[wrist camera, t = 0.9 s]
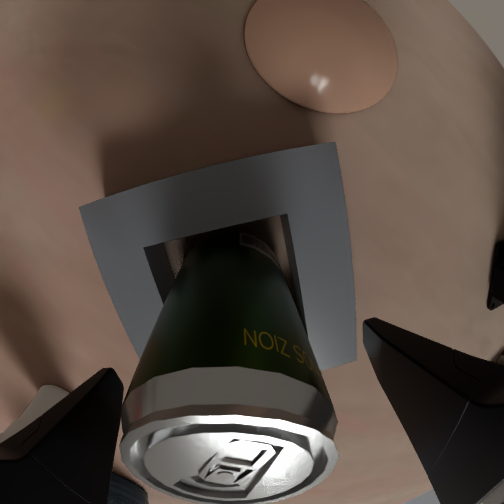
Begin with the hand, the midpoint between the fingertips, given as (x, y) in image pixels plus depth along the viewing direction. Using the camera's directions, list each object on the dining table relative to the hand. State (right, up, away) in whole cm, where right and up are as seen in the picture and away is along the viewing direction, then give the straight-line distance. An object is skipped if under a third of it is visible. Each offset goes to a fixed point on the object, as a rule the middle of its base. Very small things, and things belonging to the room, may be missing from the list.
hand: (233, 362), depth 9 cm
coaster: (+5, +15, +3) cm, 16 cm away
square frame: (0, +2, +7) cm, 8 cm away
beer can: (0, +2, +8) cm, 8 cm away
